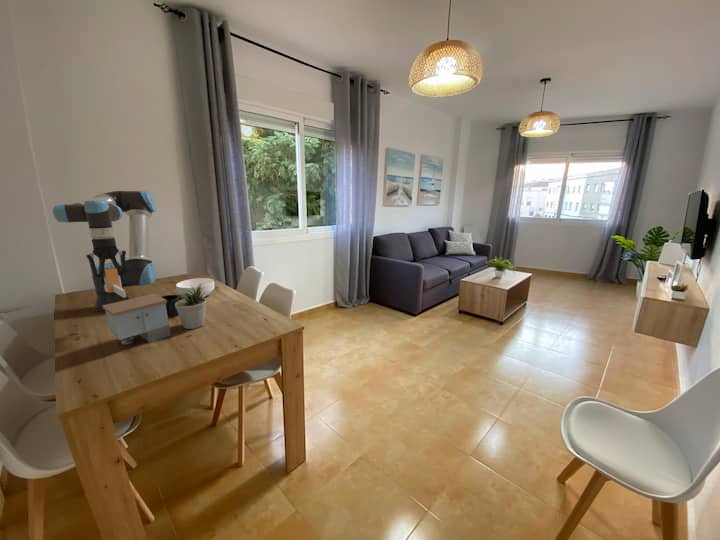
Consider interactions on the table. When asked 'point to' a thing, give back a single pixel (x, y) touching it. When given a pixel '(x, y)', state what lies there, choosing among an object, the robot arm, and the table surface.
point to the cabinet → (139, 318)
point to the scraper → (113, 281)
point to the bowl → (195, 286)
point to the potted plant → (192, 309)
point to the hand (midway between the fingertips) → (113, 290)
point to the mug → (171, 305)
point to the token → (128, 341)
